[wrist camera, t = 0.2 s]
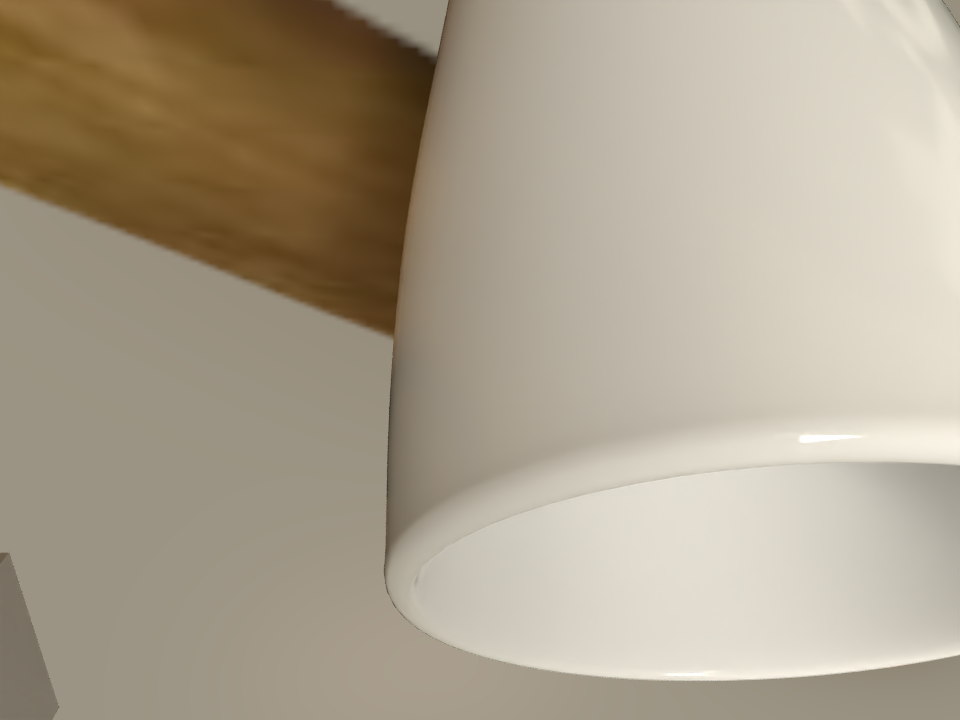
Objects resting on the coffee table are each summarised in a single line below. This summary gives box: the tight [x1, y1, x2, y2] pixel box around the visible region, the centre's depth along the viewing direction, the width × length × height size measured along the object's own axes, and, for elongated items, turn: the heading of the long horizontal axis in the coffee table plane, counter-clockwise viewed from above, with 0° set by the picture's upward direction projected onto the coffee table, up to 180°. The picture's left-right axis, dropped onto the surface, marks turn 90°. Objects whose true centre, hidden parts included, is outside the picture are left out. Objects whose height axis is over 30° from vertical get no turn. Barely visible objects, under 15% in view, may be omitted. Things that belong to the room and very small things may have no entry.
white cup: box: [384, 0, 960, 681], centre depth 11 cm, size 7×7×15 cm
